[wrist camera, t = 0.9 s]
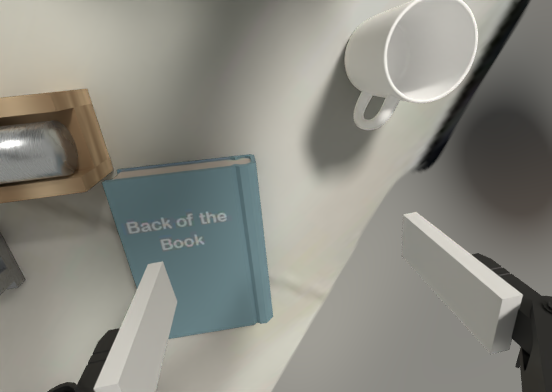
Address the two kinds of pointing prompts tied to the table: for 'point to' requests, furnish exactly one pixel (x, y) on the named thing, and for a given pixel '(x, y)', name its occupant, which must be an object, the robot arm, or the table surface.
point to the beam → (84, 129)
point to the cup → (410, 55)
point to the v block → (8, 269)
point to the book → (197, 238)
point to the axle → (36, 151)
